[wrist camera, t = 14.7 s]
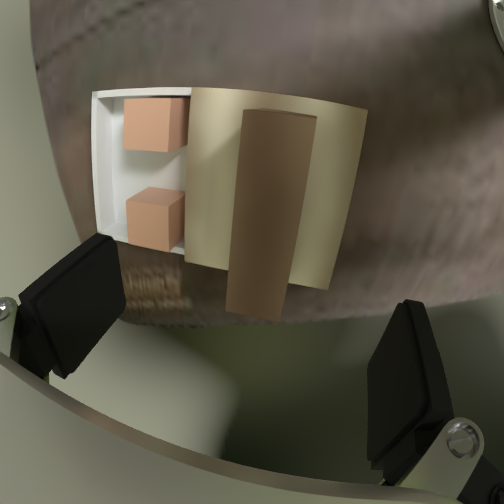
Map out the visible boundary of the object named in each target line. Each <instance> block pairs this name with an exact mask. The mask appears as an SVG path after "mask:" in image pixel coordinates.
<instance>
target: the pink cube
mask: <svg viewBox="0 0 504 504" xmlns="http://www.w3.org/2000/svg"><path fill="white" fill-rule="evenodd" d="M190 101H191V98H134V99H124V125H123V149H127V150H143V151H157V152H170V151H173V150H175V149H178V148H181V147H183V146H186V145H188V128H189V114H190Z"/></svg>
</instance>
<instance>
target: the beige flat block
mask: <svg viewBox="0 0 504 504" xmlns="http://www.w3.org/2000/svg"><path fill="white" fill-rule="evenodd" d="M259 108H266V109H274V110H282V111H289V112H295V113H302V114H308V115H314V116H317V122H316V128H315V135H314V142H313V148H312V154H311V160H310V167H309V173H308V179H307V185H306V190H305V196H304V202H303V208H302V213H301V219H300V224H299V230H298V235H297V240H296V245H295V251H294V256H293V261H292V266H291V271H290V276H289V281H288V283H293V284H298V285H303V286H308V287H313V288H319V289H324V290H328V287H329V284H330V280H331V277H332V273H333V270H334V266H335V262H336V258H337V255H338V251H339V247H340V243H341V239H342V235H343V231H344V227H345V223H346V219H347V214H348V210H349V206H350V201H351V197H352V192H353V188H354V183H355V178H356V174H357V169H358V164H359V159H360V153H361V148H362V143H363V137H364V131H365V126H366V120H367V114H368V110H366V109H361V108H357V107H353V106H348V105H343V104H338V103H333V102H328V101H323V100H317V99H311V98H305V97H298V96H291V95H284V94H276V93H268V92H259V91H248V90H236V89H221V88H196V87H192V89H191V101H190V114H189V128H188V145H187V164H186V190H185V262H190V263H195V264H199V265H204V266H209V267H214V268H218V269H223V270H228V268H229V255H230V243H231V231H232V219H233V208H234V197H235V186H236V175H237V165H238V155H239V145H240V135H241V125H242V115H243V110H245V109H259Z"/></svg>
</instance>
